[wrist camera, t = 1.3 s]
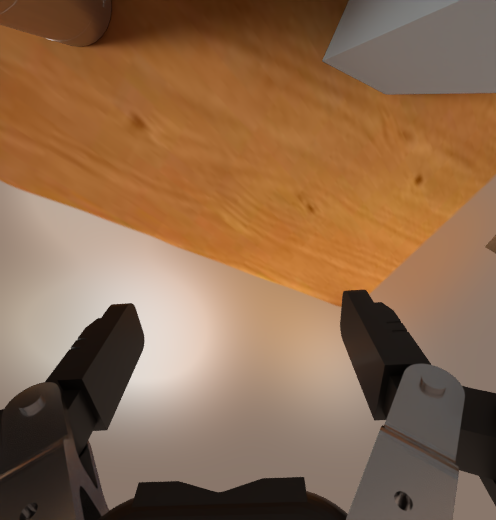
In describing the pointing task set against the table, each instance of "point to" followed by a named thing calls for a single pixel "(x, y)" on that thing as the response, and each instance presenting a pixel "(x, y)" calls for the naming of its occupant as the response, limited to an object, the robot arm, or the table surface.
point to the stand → (418, 45)
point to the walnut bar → (492, 244)
